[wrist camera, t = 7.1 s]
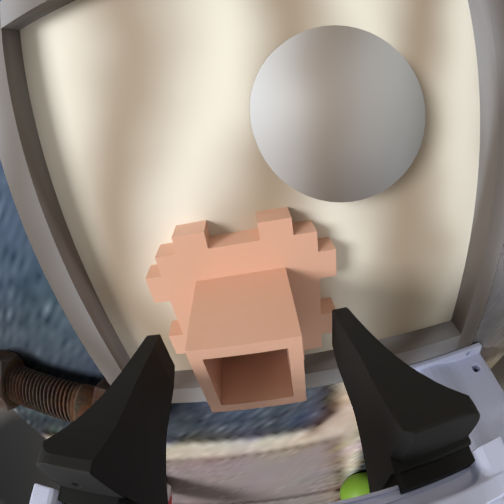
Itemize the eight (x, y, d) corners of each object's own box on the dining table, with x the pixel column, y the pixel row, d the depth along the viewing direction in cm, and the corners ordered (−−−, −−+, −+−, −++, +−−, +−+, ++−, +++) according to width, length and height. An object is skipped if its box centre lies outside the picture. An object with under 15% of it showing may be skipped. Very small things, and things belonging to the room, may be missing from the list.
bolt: (-12, 330, 21) (133, 369, 22) (-8, 380, 21) (133, 424, 22) (-53, 343, 15) (109, 400, 16) (-43, 400, 15) (113, 463, 16)
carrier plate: (467, -40, 8) (513, -53, 5) (457, 323, 20) (482, 361, 16) (5, 20, 9) (-46, 16, 5) (130, 378, 21) (118, 424, 17)
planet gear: (327, 200, 14) (371, 266, 9) (331, 339, 18) (354, 415, 13) (139, 232, 14) (99, 307, 10) (188, 359, 19) (179, 437, 14)
